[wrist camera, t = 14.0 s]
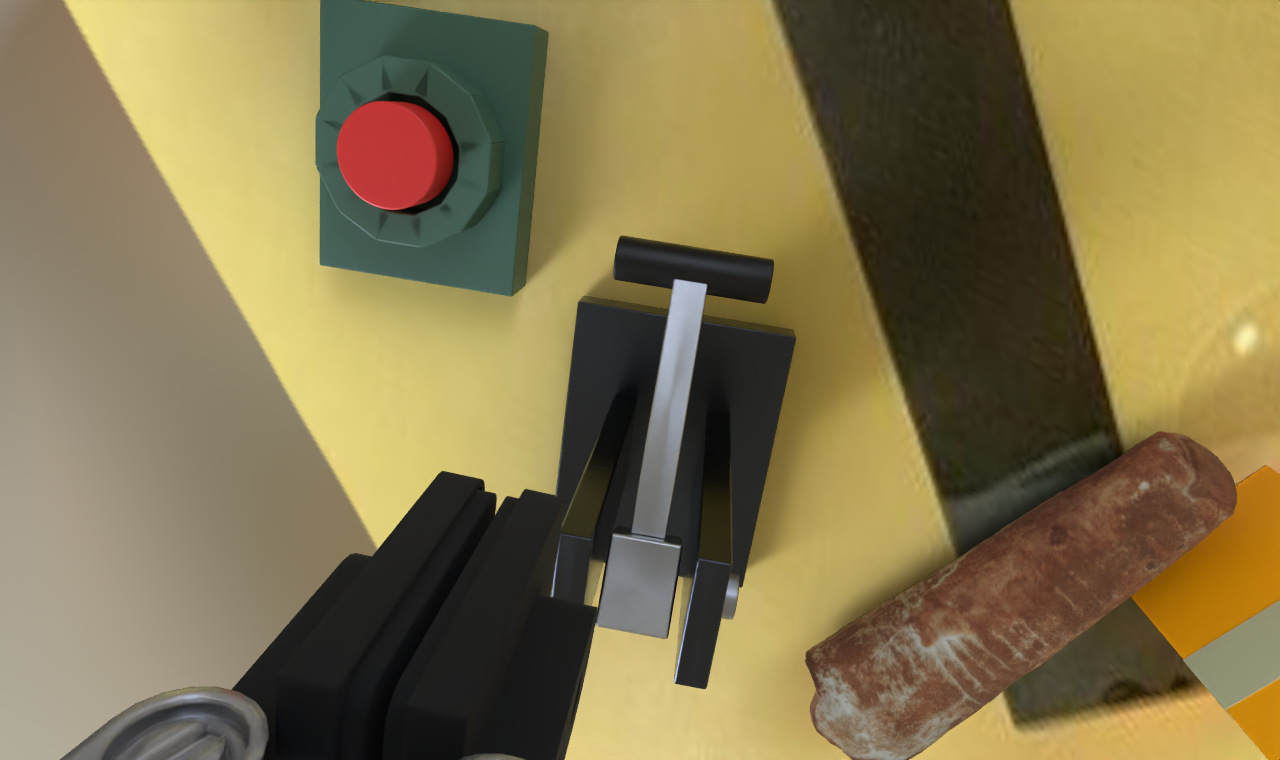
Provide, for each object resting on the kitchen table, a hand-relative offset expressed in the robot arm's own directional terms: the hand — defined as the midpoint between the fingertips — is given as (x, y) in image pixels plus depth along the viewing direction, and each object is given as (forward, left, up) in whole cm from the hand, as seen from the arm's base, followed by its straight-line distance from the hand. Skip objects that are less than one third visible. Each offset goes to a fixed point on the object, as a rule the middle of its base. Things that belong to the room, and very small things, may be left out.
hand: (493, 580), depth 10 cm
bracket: (+8, +2, -23) cm, 24 cm away
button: (-3, -9, -20) cm, 22 cm away
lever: (+4, +2, -15) cm, 16 cm away
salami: (+11, +17, -23) cm, 31 cm away
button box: (-3, -9, -23) cm, 25 cm away
